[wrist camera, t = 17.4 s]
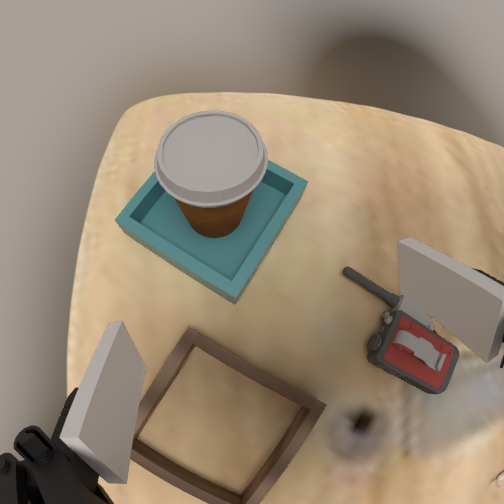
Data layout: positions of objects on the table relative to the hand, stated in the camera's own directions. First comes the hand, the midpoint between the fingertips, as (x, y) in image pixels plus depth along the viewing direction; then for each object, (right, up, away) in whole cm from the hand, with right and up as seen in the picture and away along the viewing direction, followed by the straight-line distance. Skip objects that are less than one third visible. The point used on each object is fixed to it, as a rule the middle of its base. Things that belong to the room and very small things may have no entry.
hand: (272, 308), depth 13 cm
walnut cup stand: (-4, -16, +14) cm, 21 cm away
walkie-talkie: (+16, -8, +19) cm, 26 cm away
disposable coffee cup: (-5, +7, +21) cm, 23 cm away
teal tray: (-5, +7, +22) cm, 23 cm away
